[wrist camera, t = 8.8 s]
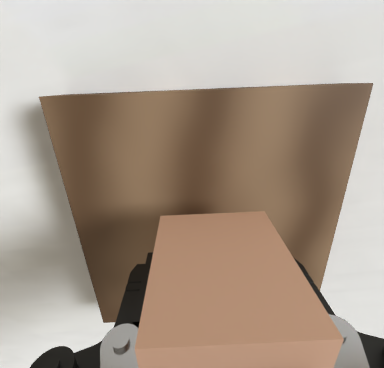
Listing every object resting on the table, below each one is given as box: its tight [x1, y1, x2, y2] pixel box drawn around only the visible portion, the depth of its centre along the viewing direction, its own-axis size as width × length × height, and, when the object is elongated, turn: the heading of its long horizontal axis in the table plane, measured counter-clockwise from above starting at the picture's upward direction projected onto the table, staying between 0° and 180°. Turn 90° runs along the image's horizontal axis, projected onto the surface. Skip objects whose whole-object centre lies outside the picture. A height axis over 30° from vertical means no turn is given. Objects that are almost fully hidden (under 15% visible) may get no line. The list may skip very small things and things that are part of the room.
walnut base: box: [39, 83, 373, 323], centre depth 15 cm, size 16×16×2 cm
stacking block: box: [135, 211, 344, 368], centre depth 9 cm, size 5×5×6 cm
